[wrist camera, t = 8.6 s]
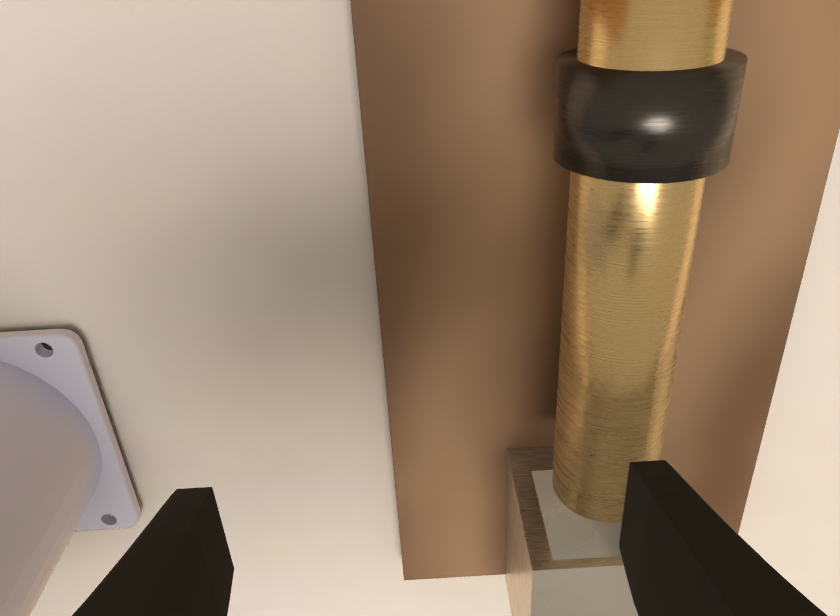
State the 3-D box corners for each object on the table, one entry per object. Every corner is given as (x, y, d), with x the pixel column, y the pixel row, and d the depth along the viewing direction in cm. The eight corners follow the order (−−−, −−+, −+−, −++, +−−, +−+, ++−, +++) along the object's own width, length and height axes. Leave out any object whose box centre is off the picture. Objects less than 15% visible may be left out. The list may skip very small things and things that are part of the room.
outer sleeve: (505, 573, 25) (526, 704, 21) (506, 448, 22) (532, 571, 18) (630, 566, 25) (676, 694, 21) (649, 439, 22) (707, 560, 18)
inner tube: (528, 445, 21) (551, 538, 18) (550, -204, 13) (599, -240, 10) (646, 438, 21) (690, 530, 18) (740, -215, 13) (848, -255, 10)
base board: (403, 558, 26) (404, 580, 25) (313, -446, 13) (307, -472, 12) (720, 539, 26) (731, 560, 25) (958, -483, 13) (999, -511, 12)
